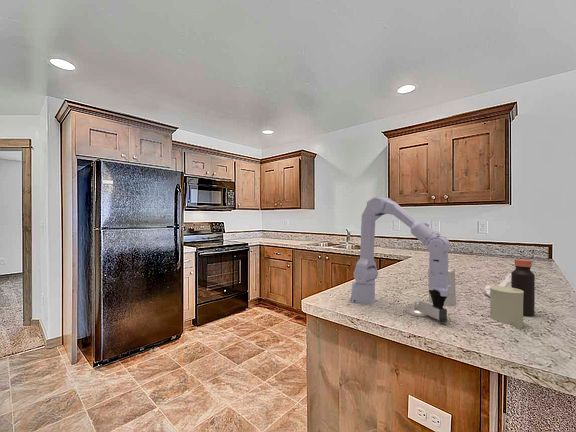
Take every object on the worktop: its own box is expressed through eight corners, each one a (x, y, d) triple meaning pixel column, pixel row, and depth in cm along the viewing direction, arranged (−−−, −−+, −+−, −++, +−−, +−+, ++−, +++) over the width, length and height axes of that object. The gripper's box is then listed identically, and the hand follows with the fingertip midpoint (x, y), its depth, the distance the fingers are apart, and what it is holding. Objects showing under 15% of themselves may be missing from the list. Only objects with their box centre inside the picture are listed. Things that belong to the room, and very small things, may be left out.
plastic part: (483, 294, 133) (483, 269, 134) (508, 296, 131) (508, 271, 131) (489, 299, 126) (489, 272, 126) (516, 301, 123) (516, 274, 124)
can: (526, 330, 91) (526, 292, 91) (490, 324, 95) (490, 288, 96) (521, 321, 98) (521, 286, 98) (488, 316, 103) (488, 283, 103)
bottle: (512, 309, 112) (513, 258, 112) (535, 313, 107) (535, 260, 107) (509, 313, 107) (510, 260, 107) (533, 318, 102) (533, 262, 102)
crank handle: (399, 309, 106) (399, 297, 106) (418, 307, 108) (418, 295, 108) (434, 326, 90) (434, 311, 90) (456, 323, 92) (456, 308, 93)
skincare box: (456, 307, 114) (456, 270, 114) (448, 310, 110) (448, 271, 110) (435, 302, 120) (436, 266, 121) (427, 304, 117) (428, 268, 117)
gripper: (458, 277, 89) (458, 320, 89) (445, 269, 103) (444, 306, 103) (434, 275, 91) (433, 318, 91) (423, 268, 105) (423, 304, 105)
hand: (438, 312), depth 97 cm, fingers closed
